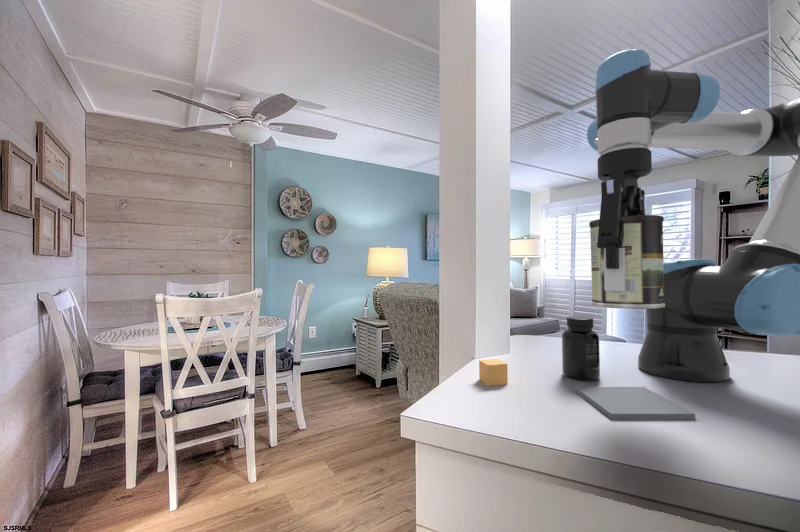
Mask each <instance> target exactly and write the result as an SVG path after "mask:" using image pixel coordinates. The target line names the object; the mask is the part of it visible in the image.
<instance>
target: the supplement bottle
mask: <svg viewBox="0 0 800 532" xmlns="http://www.w3.org/2000/svg"><path fill="white" fill-rule="evenodd" d="M566 327H567V329H565V330H564V331H563V332H562V335H561V357H562V358H561V359H562V363H561V364H562V365H561V366H562V374H563V376H564V377H566V378H567V379H569V380H574V381H579V382H596V381H597V380H599V379H600V377H601V359H600V358H601V356H600V336H599V334H598V333H597V332H596V331H594V330H593V329H594V318H593V317H588V316H580V315H579V316H567V317H566Z"/></svg>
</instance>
